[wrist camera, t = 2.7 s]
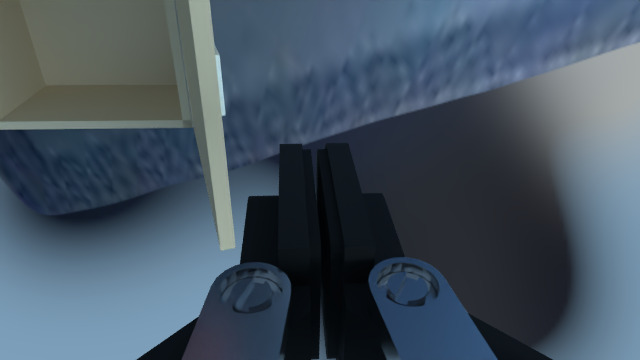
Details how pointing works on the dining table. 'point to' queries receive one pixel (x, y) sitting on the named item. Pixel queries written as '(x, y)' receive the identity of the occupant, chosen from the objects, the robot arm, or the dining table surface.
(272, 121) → the dining table surface
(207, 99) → the lid
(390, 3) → the dining table surface
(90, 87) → the carton
